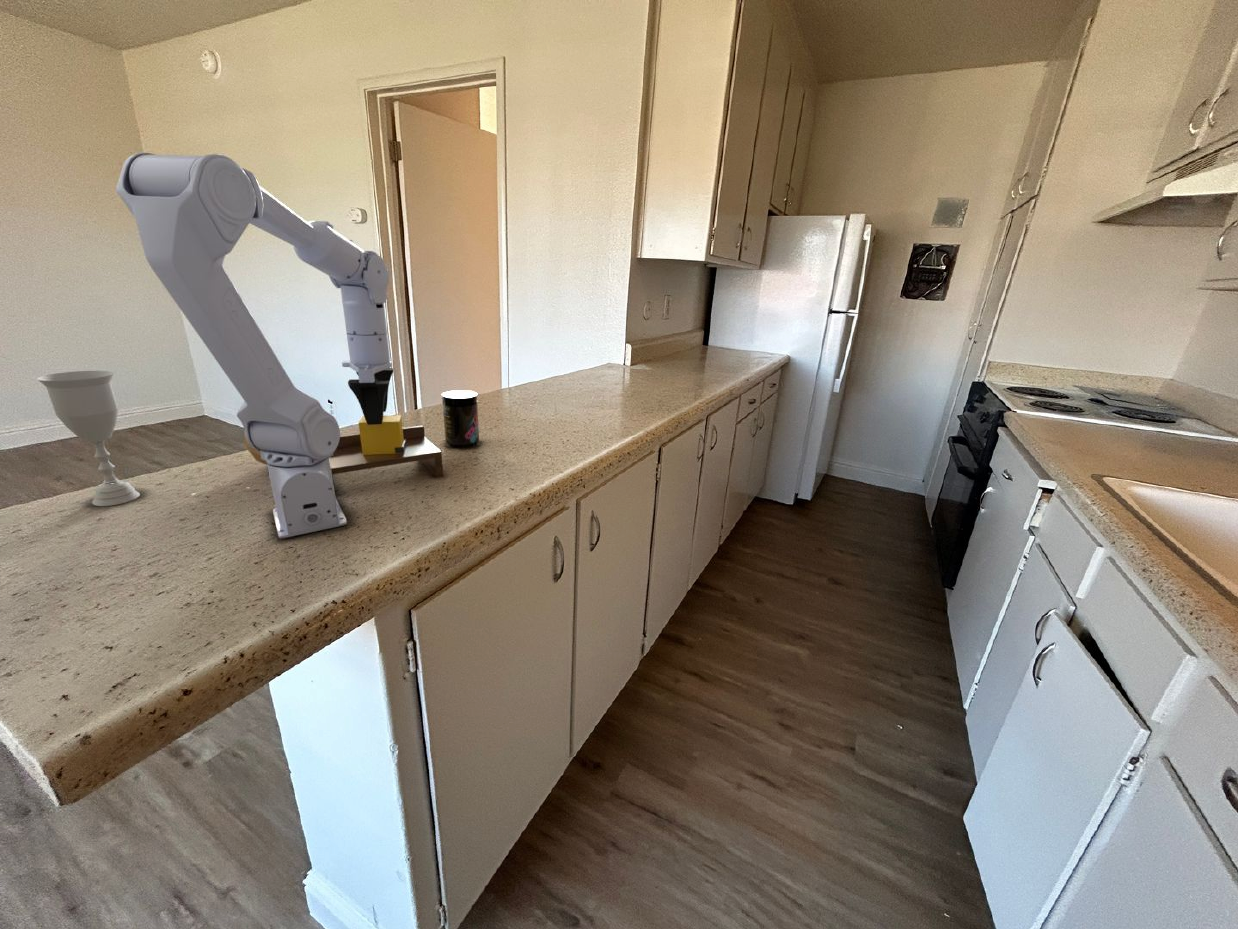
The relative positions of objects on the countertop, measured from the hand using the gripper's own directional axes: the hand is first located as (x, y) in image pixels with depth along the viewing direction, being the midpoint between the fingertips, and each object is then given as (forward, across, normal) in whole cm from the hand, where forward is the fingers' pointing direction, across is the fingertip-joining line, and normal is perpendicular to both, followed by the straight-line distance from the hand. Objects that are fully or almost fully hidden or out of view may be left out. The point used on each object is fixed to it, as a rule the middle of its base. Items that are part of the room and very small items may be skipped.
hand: (377, 417), depth 84 cm
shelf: (+10, +1, 0) cm, 10 cm away
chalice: (+10, +2, -36) cm, 37 cm away
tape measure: (+6, 0, 0) cm, 6 cm away
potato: (+10, -6, -15) cm, 20 cm away
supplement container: (+10, -14, +14) cm, 22 cm away
